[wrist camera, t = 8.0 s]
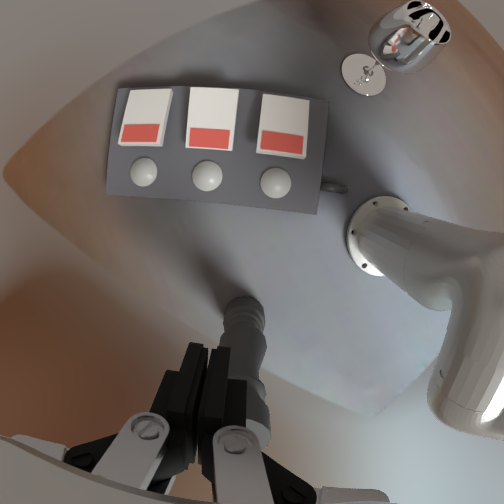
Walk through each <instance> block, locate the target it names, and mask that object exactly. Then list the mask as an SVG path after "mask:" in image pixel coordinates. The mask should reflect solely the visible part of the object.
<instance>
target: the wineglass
mask: <svg viewBox="0 0 504 504" xmlns="http://www.w3.org/2000/svg"><path fill="white" fill-rule="evenodd" d="M450 38H451V31H450V27H449V25H448V23H447V21H446V20H445V18H444V17H443V16H442V14H441V13H440V12H439V11H438V10H437V9H435V8H434V7H433V6H431V5H430V4H428V3H426V2H423V1H420V0H412V1H409V2H407V3H405V4H403V5H401V6H398V7H396V8H395V9H393V10H391V11H389V12H387V13H386V14H384V15H383V16H381V17H380V18H379V19H378V20H377V21H376V22H375V23H374V24H373V25H372V27H371V29H370V31H369V36H368V43H369V47H370V50H371V52H372V54H373V56H374V57H375V59H376V60H377V61H376V60H375V59H373V58H372V57H370V56H368V55H365V54H359V53H357V54H352V55H349V56H348V57H346V58H345V60H344V61H343V63H342V67H341V71H342V76H343V78H344V80H345V82H346V83H347V85H348V86H349V87H350V88H351V89H352V90H354V91H355V92H357V93H359V94H361V95H365V96H374V95H377V94H379V93H380V92H382V91H383V89H384V87H385V85H386V75H385V72H384V70H383V68H382V67H381V65H382V66H384V67H385V68H387V69H388V70H390V71H392V72H395V73H398V74H413V73H415V72H418V71H421V70H422V69H423V68H425V67H426V66H427V65H429V64H430V63H431V62H432V61H433V60H434V59H435V58H436V57H437V56H438V54H439V53H440V52H441V51H442V50H443V48H444V47H445V46H446V45H447V43H448V42H449V41H450ZM380 64H381V65H380Z"/></svg>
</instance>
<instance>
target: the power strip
mask: <svg viewBox="0 0 504 504" xmlns="http://www.w3.org/2000/svg"><path fill="white" fill-rule="evenodd" d="M191 87H205V88H225V89H239V98H238V106H237V115H236V125H235V134H234V144H233V150H232V151H227V150H214V149H200V148H185V147H186V132H187V120H188V109H189V98H190V88H191ZM144 89H172V91H173V96H172V101H171V105H170V110H169V115H168V120H167V125H166V130H165V135H164V140H163V146H121V145H119V144H118V140H119V136H120V131H121V126H122V122H123V118H124V114H125V109H126V105H127V102H128V98H129V94H130V90H144ZM263 94H270V95H277V96H285V97H292V98H298V99H304V100H309V119H308V135H307V149H306V157H305V159H298V158H291V157H284V156H276V155H268V154H260V153H256V149H257V141H258V132H259V123H260V115H261V106H262V98H263ZM328 110H329V101H326V100H321V99H316V98H310V97H304V96H298V95H292V94H285V93H278V92H270V91H261V90H252V89H241V88H227V87H208V86H153V87H134V88H120V89H118V92H117V98H116V104H115V110H114V116H113V123H112V130H111V138H110V146H109V156H108V166H107V179H106V195H115V196H132V197H148V198H162V199H175V200H187V201H198V202H209V203H220V204H230V205H239V206H249V207H258V208H266V209H275V210H283V211H291V212H299V213H307V214H314V215H317V208H318V200H319V193H320V190H324V191H331V192H337V193H343V194H344V193H346V192H347V190H348V189H347V187H346V186H345V185H339V184H333V183H327V182H321V177H322V169H323V160H324V151H325V142H326V132H327V121H328Z"/></svg>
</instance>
